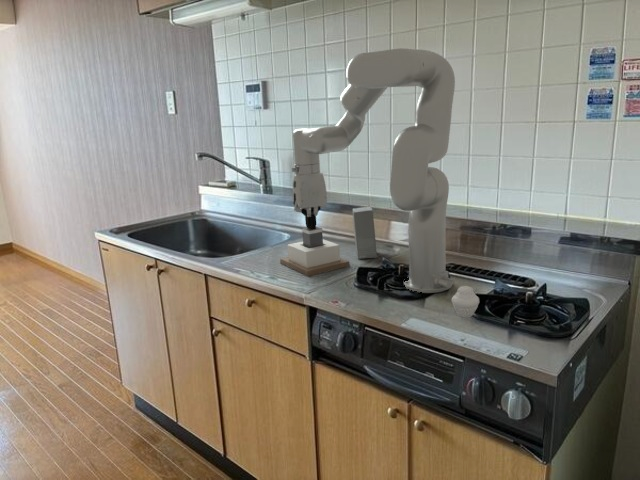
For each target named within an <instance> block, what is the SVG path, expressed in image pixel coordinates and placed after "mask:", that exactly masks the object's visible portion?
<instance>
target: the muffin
mask: <svg viewBox="0 0 640 480" xmlns="http://www.w3.org/2000/svg"><path fill="white" fill-rule="evenodd" d="M451 303H452V307H453V308H454V309H455V312H456V313H457V315H458V316H459V317H462V318H470V317H472V316H473V315H474V313H476V310H477V309H478V307H479V304H480V297H479V296H477V295H476V293H475V292H474V288H473V287H472V286H468V285H461V286H459V287H458V288H457V291H456V292H455V294H454V295H453V296H452V297H451Z"/></svg>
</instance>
